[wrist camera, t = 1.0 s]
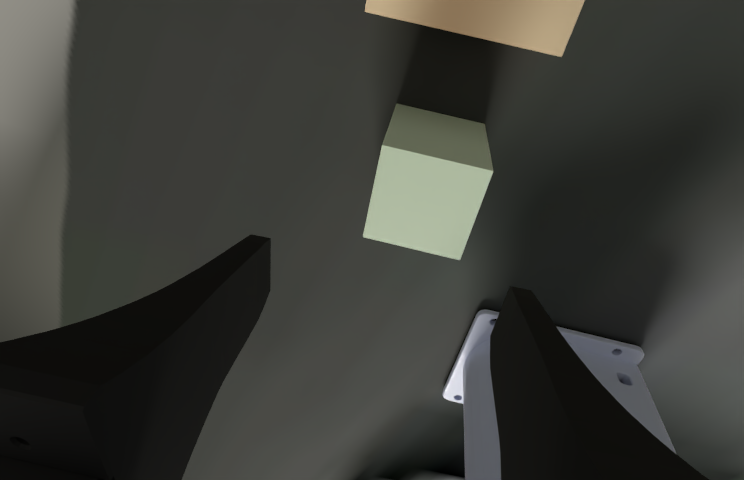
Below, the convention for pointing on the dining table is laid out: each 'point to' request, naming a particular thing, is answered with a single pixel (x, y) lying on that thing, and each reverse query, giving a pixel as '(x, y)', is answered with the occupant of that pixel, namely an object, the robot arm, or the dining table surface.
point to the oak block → (492, 19)
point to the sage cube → (429, 182)
